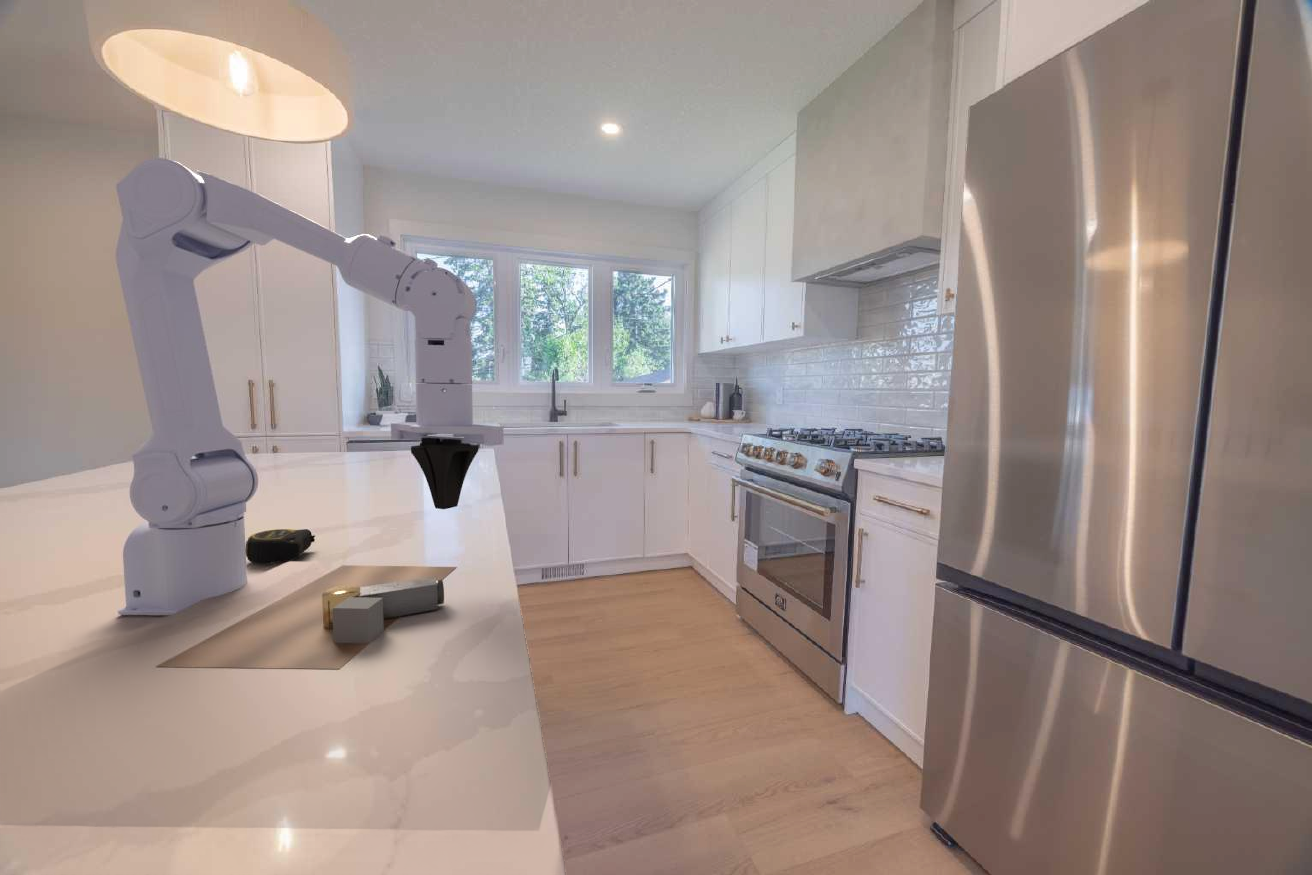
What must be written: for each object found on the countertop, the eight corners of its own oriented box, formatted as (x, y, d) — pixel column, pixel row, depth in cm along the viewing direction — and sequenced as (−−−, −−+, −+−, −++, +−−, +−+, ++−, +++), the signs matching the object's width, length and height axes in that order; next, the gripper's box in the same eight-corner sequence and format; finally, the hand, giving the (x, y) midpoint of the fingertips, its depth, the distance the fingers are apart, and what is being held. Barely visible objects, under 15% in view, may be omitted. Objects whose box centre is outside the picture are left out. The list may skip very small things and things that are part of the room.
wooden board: (156, 685, 40) (155, 666, 40) (342, 577, 64) (342, 565, 64) (339, 687, 40) (339, 668, 40) (457, 578, 64) (457, 566, 64)
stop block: (333, 642, 44) (332, 608, 44) (350, 629, 46) (349, 597, 46) (368, 642, 44) (368, 608, 44) (383, 630, 46) (382, 597, 46)
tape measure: (298, 566, 68) (297, 538, 68) (236, 570, 66) (234, 542, 66) (315, 551, 74) (314, 526, 74) (259, 555, 72) (258, 528, 72)
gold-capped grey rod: (322, 630, 46) (321, 599, 45) (324, 617, 48) (323, 588, 48) (444, 609, 51) (444, 581, 50) (440, 598, 53) (440, 571, 53)
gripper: (365, 383, 56) (368, 507, 57) (468, 383, 50) (470, 522, 51) (419, 384, 62) (421, 496, 63) (516, 385, 56) (516, 508, 57)
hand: (446, 507), depth 58 cm, fingers closed
